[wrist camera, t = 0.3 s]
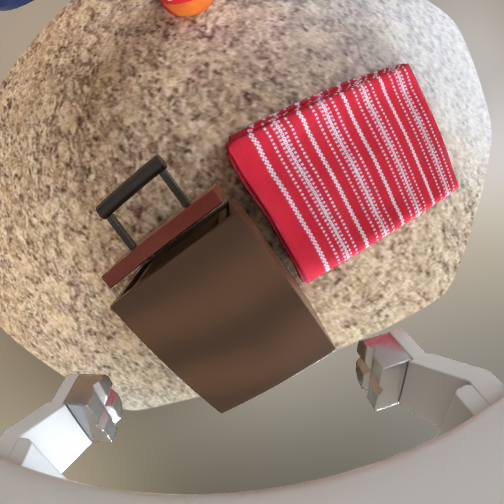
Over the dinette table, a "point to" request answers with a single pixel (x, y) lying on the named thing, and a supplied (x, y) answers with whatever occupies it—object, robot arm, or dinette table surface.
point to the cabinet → (225, 313)
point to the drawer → (165, 230)
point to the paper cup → (186, 6)
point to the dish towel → (344, 167)
